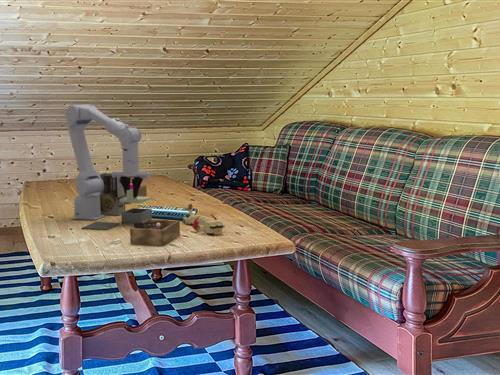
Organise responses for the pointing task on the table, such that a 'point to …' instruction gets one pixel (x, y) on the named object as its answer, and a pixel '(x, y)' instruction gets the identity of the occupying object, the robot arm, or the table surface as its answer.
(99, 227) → the mat
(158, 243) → the holders
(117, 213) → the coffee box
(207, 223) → the cat figure
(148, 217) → the tub
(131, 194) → the lid
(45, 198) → the table surface
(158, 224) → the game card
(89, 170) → the robot arm
